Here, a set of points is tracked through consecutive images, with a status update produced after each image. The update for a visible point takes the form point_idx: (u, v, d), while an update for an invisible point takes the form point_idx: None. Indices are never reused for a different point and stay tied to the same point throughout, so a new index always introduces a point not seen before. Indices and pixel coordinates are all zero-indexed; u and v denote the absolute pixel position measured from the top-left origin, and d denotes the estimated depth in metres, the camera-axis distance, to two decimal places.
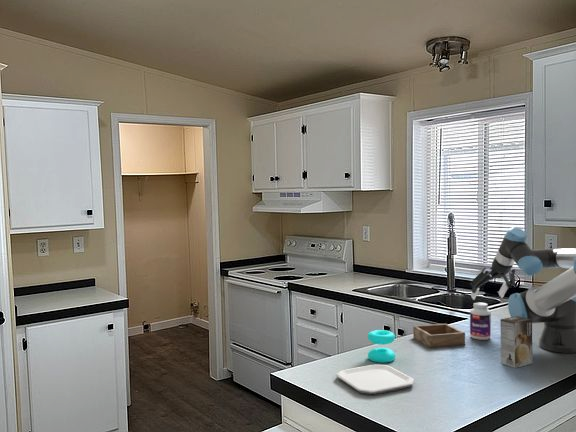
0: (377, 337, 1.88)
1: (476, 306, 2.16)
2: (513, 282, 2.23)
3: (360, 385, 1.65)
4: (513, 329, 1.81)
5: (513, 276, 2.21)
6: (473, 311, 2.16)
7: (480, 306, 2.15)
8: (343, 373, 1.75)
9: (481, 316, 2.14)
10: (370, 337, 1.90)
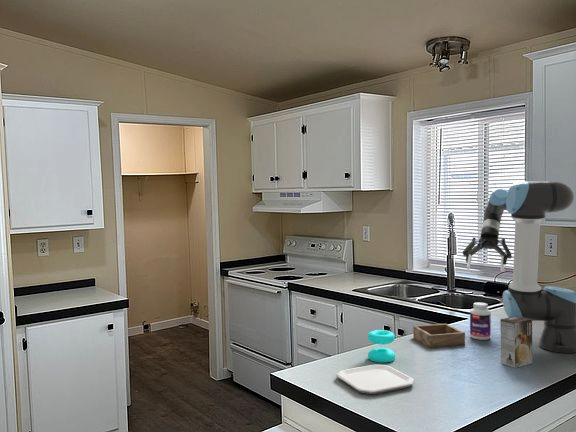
0: (377, 337, 1.88)
1: (476, 306, 2.16)
2: (508, 251, 2.26)
3: (360, 385, 1.65)
4: (513, 329, 1.81)
5: (505, 244, 2.29)
6: (473, 311, 2.16)
7: (480, 306, 2.15)
8: (343, 373, 1.75)
9: (481, 316, 2.14)
10: (370, 337, 1.90)
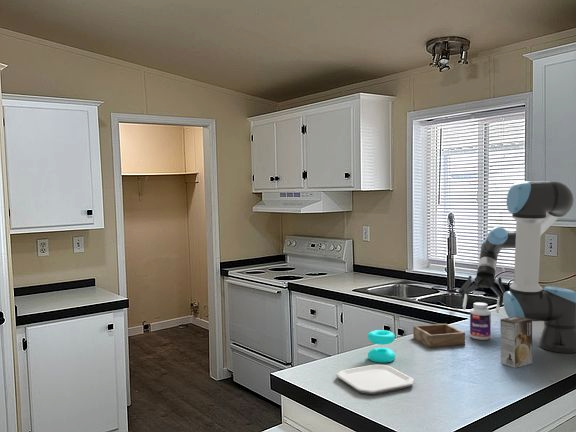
0: (377, 337, 1.88)
1: (476, 306, 2.16)
2: (504, 292, 2.22)
3: (360, 385, 1.65)
4: (513, 329, 1.81)
5: (501, 284, 2.25)
6: (473, 311, 2.16)
7: (480, 306, 2.15)
8: (343, 373, 1.75)
9: (481, 316, 2.14)
10: (370, 337, 1.90)
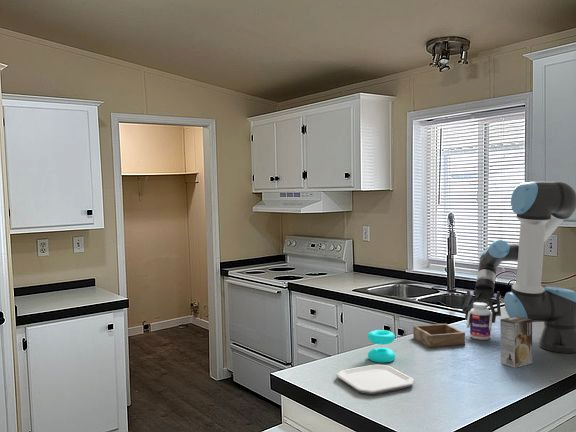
0: (377, 337, 1.88)
1: (476, 306, 2.16)
2: (498, 308, 2.16)
3: (360, 385, 1.65)
4: (513, 329, 1.81)
5: (498, 300, 2.19)
6: (473, 311, 2.16)
7: (480, 306, 2.15)
8: (343, 373, 1.75)
9: (481, 316, 2.14)
10: (370, 337, 1.90)
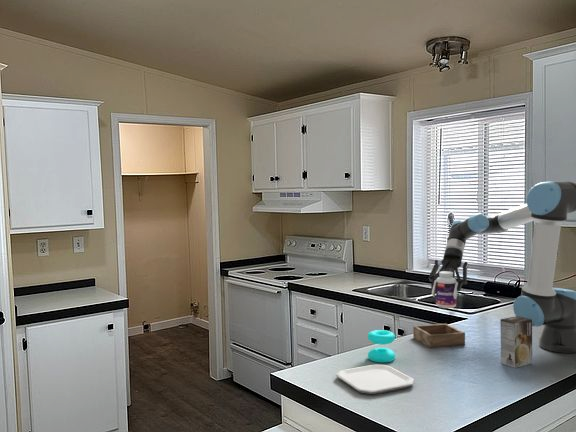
0: (377, 337, 1.88)
1: (441, 274, 2.15)
2: (464, 277, 2.14)
3: (359, 385, 1.65)
4: (513, 329, 1.81)
5: (464, 269, 2.17)
6: (438, 279, 2.15)
7: (445, 274, 2.13)
8: (343, 373, 1.75)
9: (446, 284, 2.12)
10: (370, 337, 1.90)
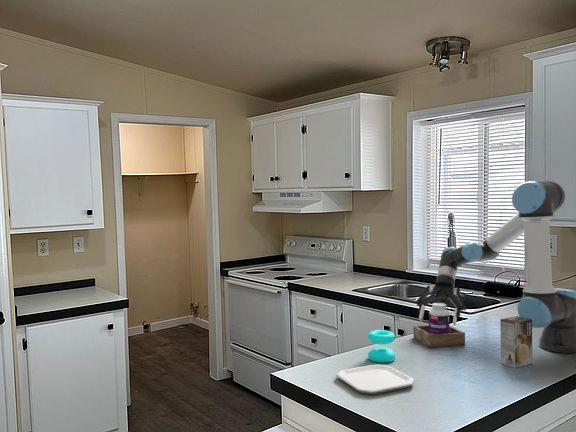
0: (377, 337, 1.88)
1: (434, 306, 2.12)
2: (462, 303, 2.12)
3: (359, 385, 1.65)
4: (513, 329, 1.81)
5: (459, 295, 2.15)
6: (431, 312, 2.12)
7: (438, 306, 2.11)
8: (343, 373, 1.75)
9: (439, 316, 2.10)
10: (370, 337, 1.90)
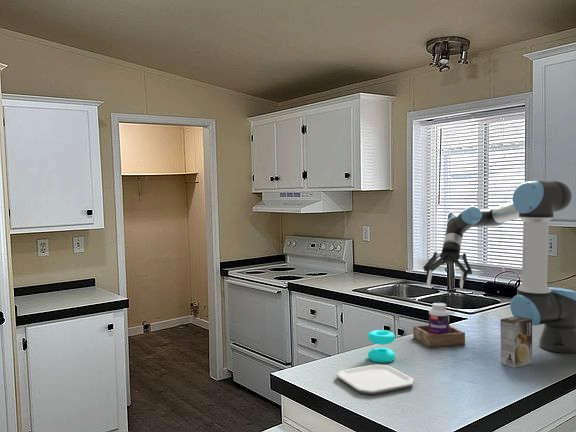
0: (377, 337, 1.88)
1: (434, 306, 2.12)
2: (468, 267, 2.21)
3: (359, 385, 1.65)
4: (513, 329, 1.81)
5: (465, 260, 2.24)
6: (431, 312, 2.12)
7: (438, 306, 2.11)
8: (343, 373, 1.75)
9: (439, 316, 2.10)
10: (370, 337, 1.90)
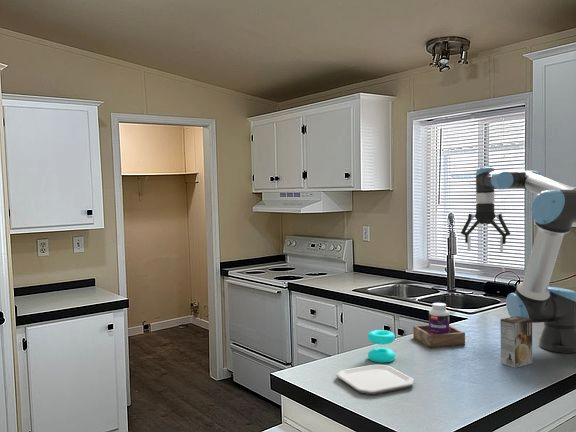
0: (377, 337, 1.88)
1: (434, 306, 2.12)
2: (506, 231, 2.24)
3: (359, 385, 1.65)
4: (513, 329, 1.81)
5: (502, 222, 2.25)
6: (431, 312, 2.12)
7: (438, 306, 2.11)
8: (343, 373, 1.75)
9: (439, 316, 2.10)
10: (370, 337, 1.90)
